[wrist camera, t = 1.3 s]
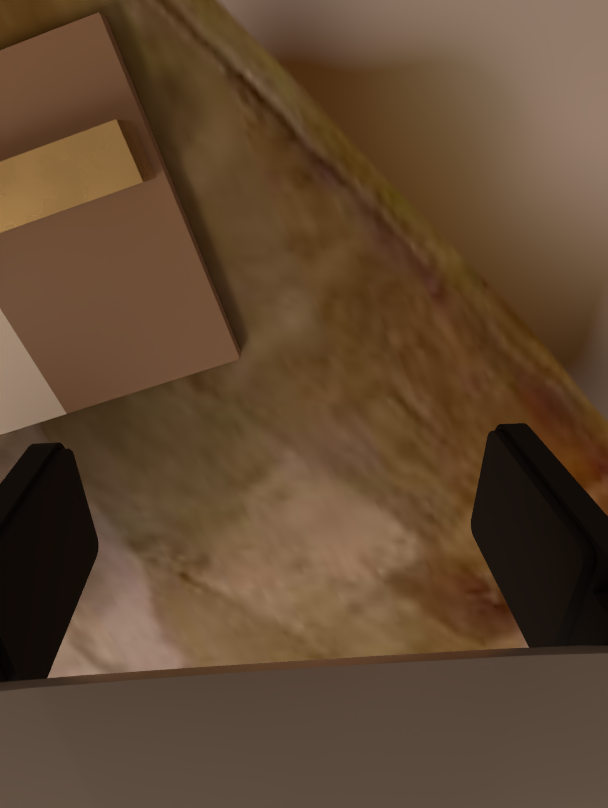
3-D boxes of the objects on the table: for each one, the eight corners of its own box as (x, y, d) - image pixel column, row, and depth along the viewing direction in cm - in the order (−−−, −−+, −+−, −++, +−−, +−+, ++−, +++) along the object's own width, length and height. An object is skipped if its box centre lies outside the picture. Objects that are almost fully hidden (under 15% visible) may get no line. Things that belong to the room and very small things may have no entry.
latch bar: (-65, 264, 28) (-107, 279, 25) (-108, 199, 27) (-159, 207, 24) (158, 185, 27) (145, 191, 24) (128, 112, 26) (109, 109, 22)
